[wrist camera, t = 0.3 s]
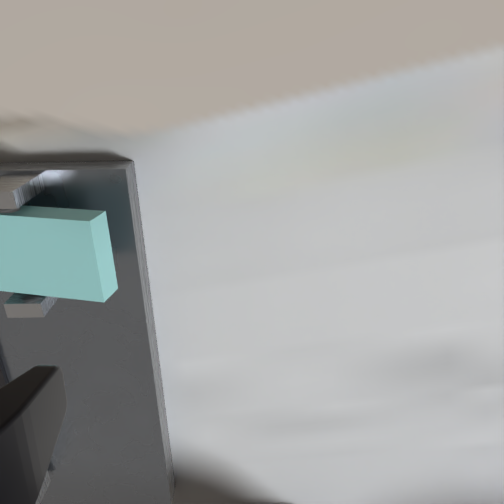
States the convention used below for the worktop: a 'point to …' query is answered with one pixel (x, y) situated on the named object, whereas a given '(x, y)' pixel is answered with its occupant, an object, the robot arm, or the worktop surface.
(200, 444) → the worktop surface
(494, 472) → the worktop surface
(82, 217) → the block
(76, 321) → the panel
